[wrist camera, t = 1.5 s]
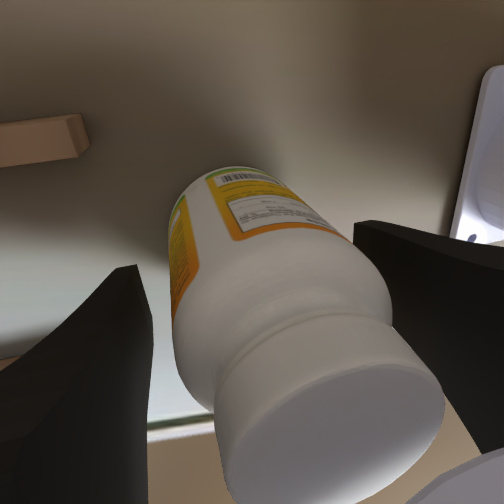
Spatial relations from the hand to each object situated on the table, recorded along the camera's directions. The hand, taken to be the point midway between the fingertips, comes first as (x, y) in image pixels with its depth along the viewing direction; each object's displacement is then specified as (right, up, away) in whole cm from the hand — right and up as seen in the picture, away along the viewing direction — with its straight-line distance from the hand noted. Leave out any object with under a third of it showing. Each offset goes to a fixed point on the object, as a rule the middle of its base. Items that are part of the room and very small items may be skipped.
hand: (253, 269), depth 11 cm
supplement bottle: (-1, +2, +3) cm, 4 cm away
